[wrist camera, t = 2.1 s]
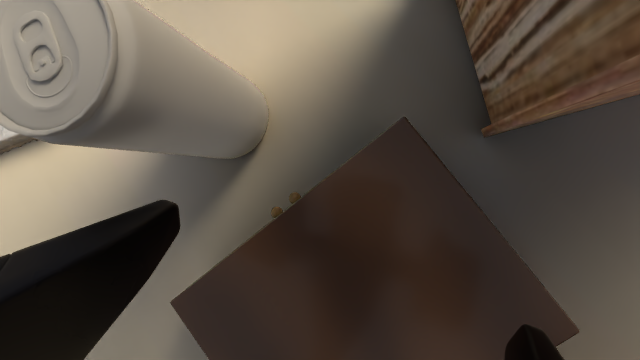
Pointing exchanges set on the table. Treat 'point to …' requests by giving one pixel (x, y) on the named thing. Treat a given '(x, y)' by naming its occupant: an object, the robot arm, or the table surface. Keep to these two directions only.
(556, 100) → the book
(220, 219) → the table surface
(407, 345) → the dark wooden slab
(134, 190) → the table surface
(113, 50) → the beverage can
